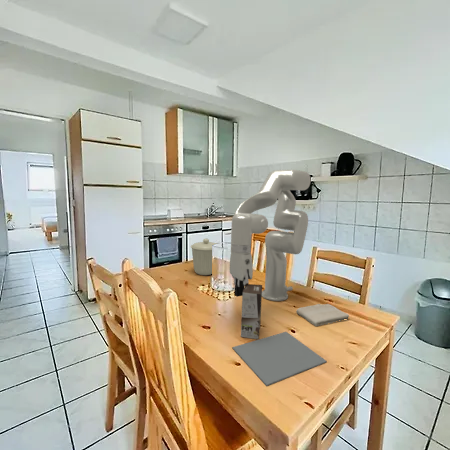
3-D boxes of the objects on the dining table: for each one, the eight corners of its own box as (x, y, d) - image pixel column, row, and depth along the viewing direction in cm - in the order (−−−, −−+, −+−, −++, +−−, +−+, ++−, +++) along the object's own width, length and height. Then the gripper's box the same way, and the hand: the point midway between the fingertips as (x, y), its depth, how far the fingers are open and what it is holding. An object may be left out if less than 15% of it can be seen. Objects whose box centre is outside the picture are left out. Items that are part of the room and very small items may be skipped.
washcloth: (350, 320, 104) (351, 313, 104) (315, 328, 97) (316, 320, 97) (328, 308, 115) (329, 301, 115) (295, 314, 108) (295, 307, 108)
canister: (226, 273, 159) (227, 239, 156) (204, 280, 146) (204, 242, 143) (206, 266, 171) (207, 234, 168) (184, 272, 158) (184, 238, 155)
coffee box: (259, 339, 88) (261, 294, 86) (240, 337, 90) (241, 292, 88) (260, 326, 97) (262, 284, 95) (243, 324, 98) (245, 282, 96)
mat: (286, 332, 93) (286, 331, 93) (326, 362, 77) (326, 361, 77) (232, 348, 83) (232, 347, 83) (266, 386, 67) (266, 384, 67)
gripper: (260, 251, 93) (258, 301, 95) (239, 243, 106) (237, 287, 108) (242, 253, 89) (240, 304, 91) (222, 245, 102) (221, 290, 105)
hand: (239, 295), depth 100 cm, fingers closed
